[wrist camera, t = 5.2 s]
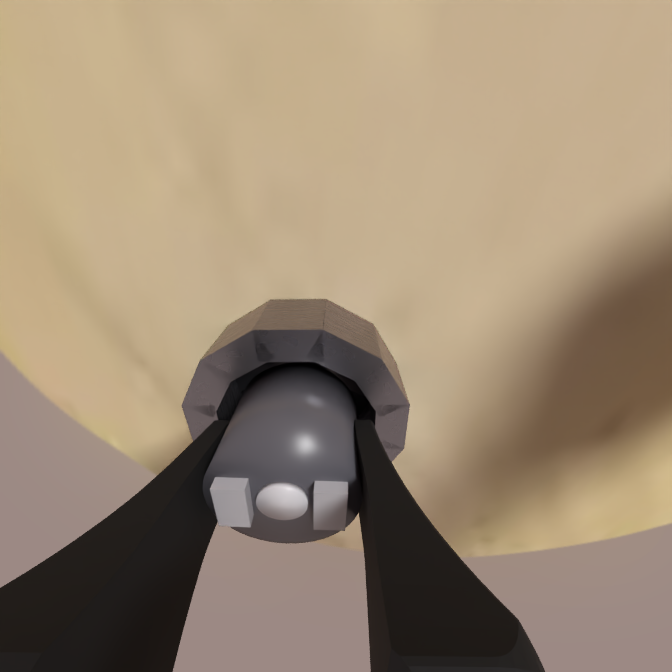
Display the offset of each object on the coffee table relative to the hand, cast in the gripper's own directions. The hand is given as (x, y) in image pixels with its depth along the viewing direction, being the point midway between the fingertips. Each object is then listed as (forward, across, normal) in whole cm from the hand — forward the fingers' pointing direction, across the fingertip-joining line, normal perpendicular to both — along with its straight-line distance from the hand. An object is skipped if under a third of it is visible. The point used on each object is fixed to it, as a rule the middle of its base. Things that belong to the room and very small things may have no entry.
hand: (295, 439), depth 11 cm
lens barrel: (+4, 0, 0) cm, 4 cm away
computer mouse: (+2, 0, 0) cm, 2 cm away
